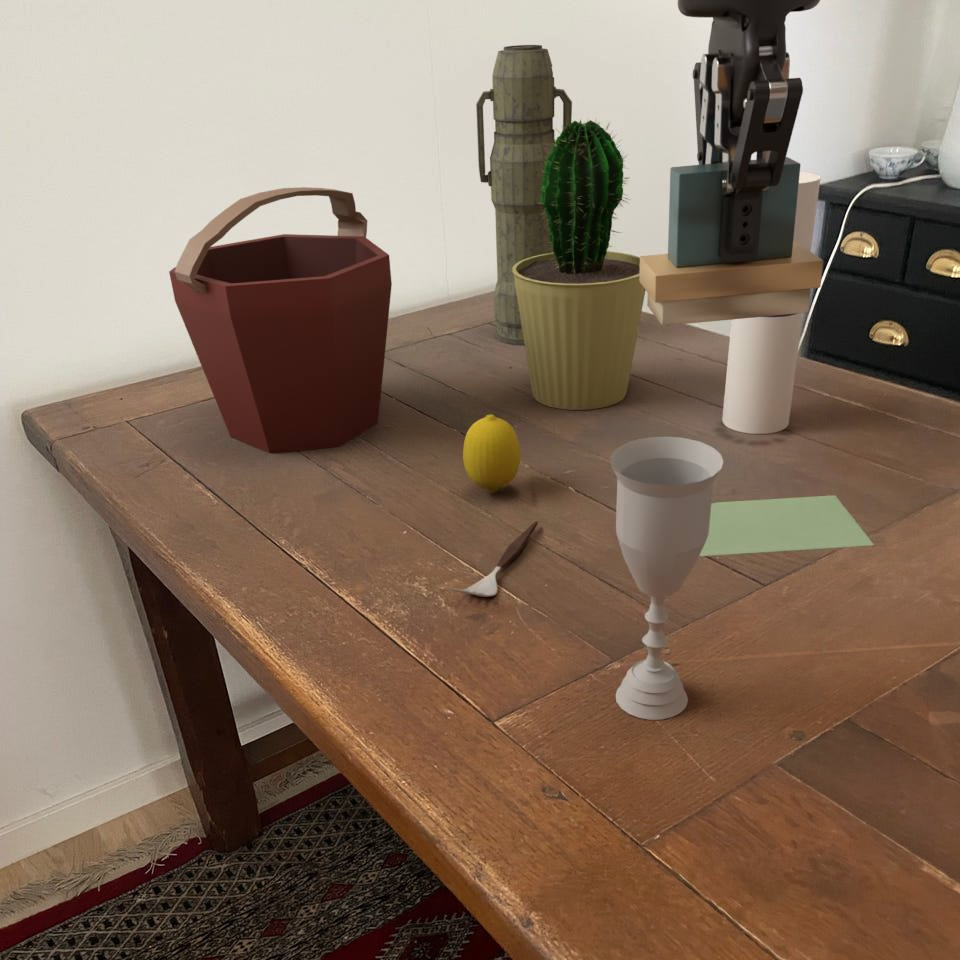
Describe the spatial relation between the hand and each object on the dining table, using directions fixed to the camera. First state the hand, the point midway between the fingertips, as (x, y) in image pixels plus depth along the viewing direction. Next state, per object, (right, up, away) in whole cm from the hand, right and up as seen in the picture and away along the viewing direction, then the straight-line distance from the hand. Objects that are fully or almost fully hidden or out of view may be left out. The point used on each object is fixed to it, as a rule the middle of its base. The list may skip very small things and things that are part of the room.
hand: (730, 253), depth 62 cm
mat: (+11, -13, +30) cm, 35 cm away
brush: (0, -3, +2) cm, 3 cm away
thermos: (-8, +19, +81) cm, 83 cm away
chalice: (-3, -28, +10) cm, 30 cm away
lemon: (-14, -9, +39) cm, 42 cm away
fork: (-13, -17, +27) cm, 34 cm away
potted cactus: (-3, +6, +61) cm, 61 cm away
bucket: (-35, +1, +56) cm, 66 cm away
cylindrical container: (+15, +1, +51) cm, 54 cm away
